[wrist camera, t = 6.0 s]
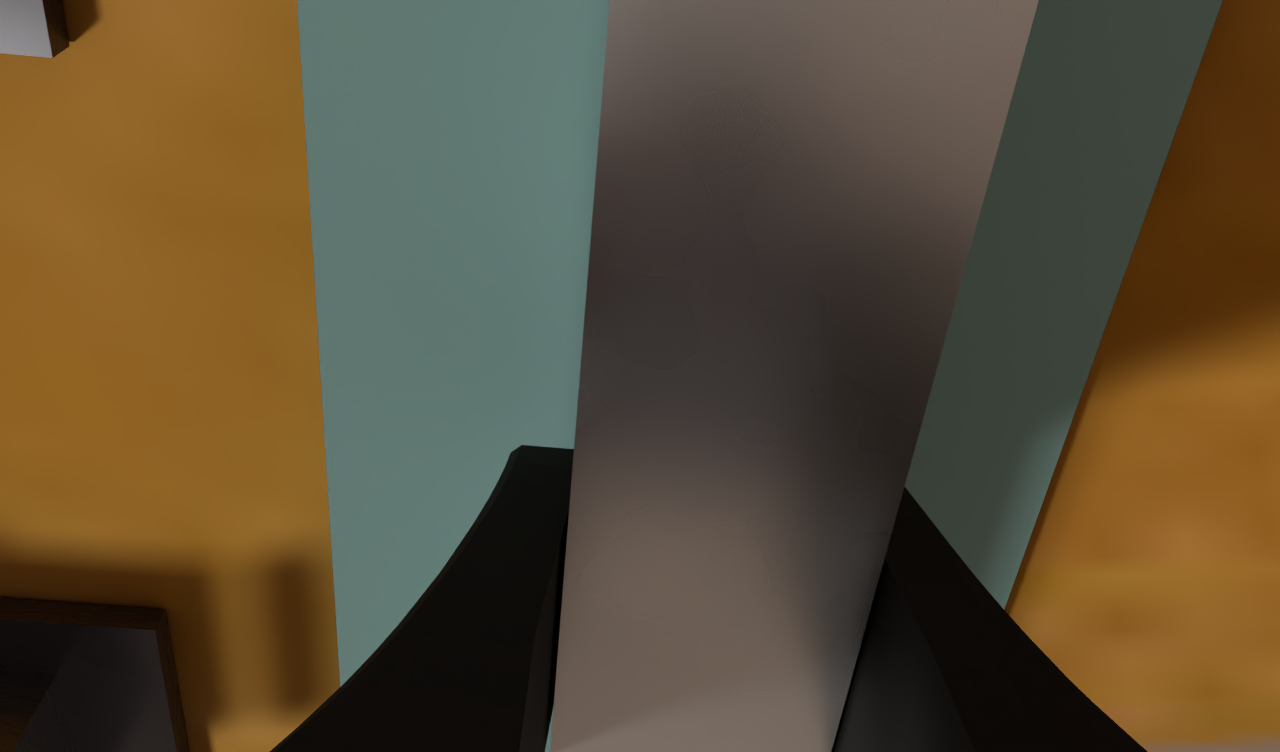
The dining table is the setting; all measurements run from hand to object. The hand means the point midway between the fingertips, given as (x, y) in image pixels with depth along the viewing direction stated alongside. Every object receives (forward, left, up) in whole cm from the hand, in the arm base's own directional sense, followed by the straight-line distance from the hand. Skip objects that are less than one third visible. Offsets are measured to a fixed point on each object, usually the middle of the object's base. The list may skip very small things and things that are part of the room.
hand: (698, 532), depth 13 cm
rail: (0, 0, -2) cm, 2 cm away
